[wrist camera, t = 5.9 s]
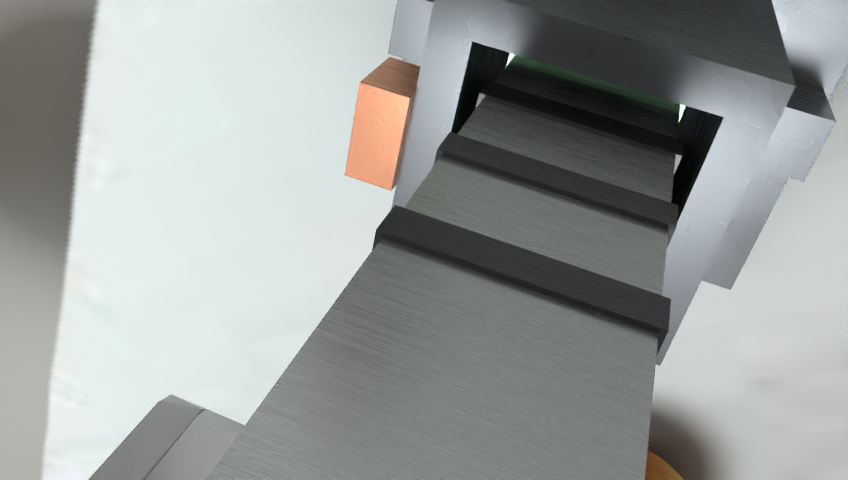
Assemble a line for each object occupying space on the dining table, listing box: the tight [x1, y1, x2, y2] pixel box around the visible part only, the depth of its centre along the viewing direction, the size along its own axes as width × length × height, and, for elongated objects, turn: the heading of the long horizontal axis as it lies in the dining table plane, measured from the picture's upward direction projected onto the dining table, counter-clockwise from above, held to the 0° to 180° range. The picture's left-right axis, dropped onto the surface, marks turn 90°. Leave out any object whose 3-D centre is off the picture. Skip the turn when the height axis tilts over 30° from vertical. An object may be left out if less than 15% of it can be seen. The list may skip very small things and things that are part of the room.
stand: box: [345, 0, 848, 366], centre depth 23 cm, size 14×14×12 cm
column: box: [206, 53, 686, 480], centre depth 14 cm, size 4×4×18 cm
